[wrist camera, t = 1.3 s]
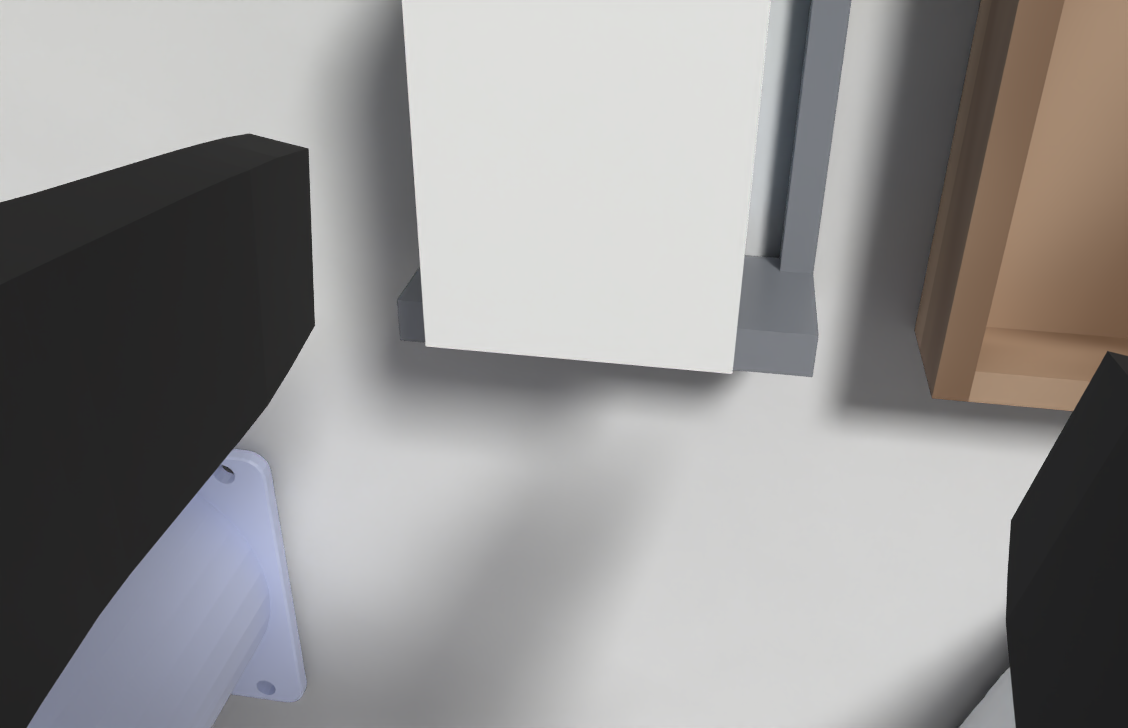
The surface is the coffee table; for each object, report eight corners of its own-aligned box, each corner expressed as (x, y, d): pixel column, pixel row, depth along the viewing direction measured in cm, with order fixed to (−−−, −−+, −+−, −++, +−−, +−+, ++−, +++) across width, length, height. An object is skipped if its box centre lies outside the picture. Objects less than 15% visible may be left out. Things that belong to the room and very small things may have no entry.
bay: (445, 269, 21) (400, 339, 18) (410, -337, 16) (342, -355, 13) (806, 298, 20) (812, 377, 17) (895, -339, 15) (922, -359, 12)
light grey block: (511, 197, 20) (425, 346, 15) (504, -216, 17) (388, -205, 11) (740, 213, 20) (732, 374, 14) (783, -212, 16) (791, -200, 11)
